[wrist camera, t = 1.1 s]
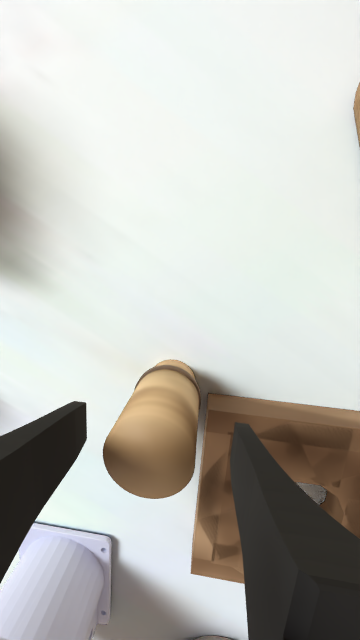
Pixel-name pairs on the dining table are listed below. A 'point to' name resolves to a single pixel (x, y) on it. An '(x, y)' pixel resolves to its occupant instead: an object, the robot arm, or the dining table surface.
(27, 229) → the dining table surface
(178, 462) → the peg
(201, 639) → the beverage can
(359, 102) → the wooden block
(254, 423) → the board
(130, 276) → the dining table surface
